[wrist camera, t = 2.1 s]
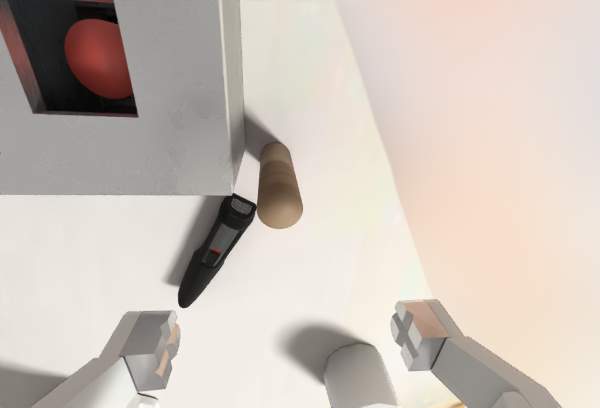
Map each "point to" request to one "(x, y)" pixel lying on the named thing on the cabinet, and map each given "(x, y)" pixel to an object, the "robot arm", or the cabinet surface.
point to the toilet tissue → (358, 379)
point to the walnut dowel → (278, 188)
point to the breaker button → (99, 58)
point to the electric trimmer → (216, 247)
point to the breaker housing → (122, 101)
